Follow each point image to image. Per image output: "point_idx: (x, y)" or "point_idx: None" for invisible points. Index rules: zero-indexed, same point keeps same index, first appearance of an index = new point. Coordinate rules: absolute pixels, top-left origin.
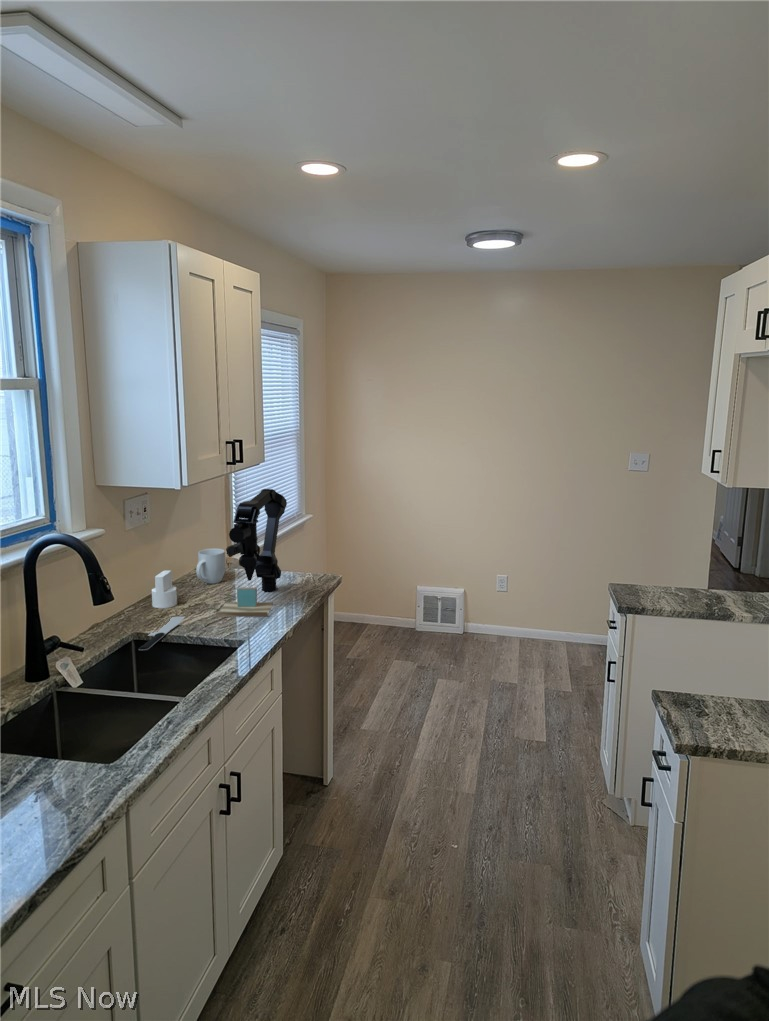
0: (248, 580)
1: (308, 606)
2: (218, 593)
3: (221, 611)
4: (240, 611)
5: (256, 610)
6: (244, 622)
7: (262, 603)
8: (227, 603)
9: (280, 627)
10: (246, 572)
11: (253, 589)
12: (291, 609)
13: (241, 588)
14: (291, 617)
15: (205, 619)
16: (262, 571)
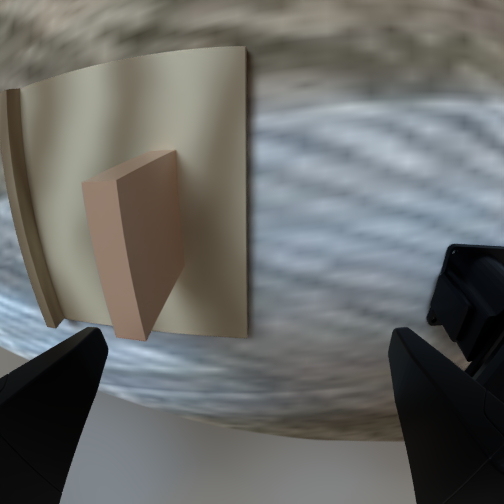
0: (92, 328)
1: (233, 427)
2: (474, 4)
3: (68, 83)
4: (78, 190)
5: None
6: (12, 228)
7: (225, 289)
8: (217, 65)
9: (24, 344)
10: (7, 383)
11: (111, 317)
12: (191, 388)
13: (93, 224)
14: (107, 381)
15: (19, 44)
16: (499, 360)
